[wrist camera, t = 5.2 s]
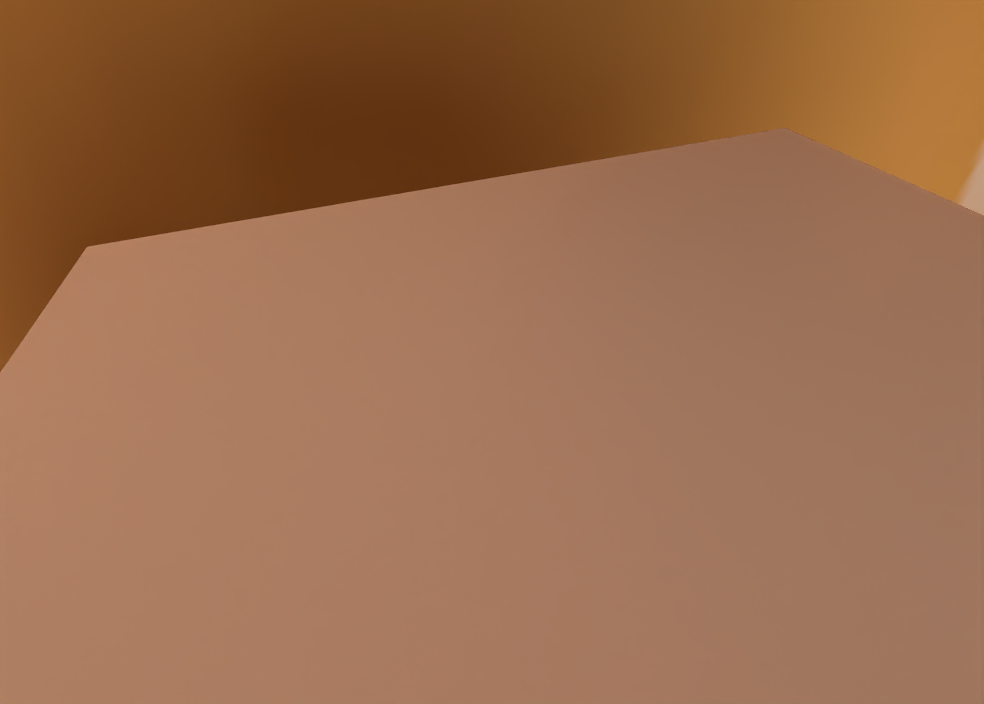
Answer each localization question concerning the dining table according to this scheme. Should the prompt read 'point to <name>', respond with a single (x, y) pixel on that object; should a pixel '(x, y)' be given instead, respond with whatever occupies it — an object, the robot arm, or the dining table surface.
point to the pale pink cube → (513, 447)
